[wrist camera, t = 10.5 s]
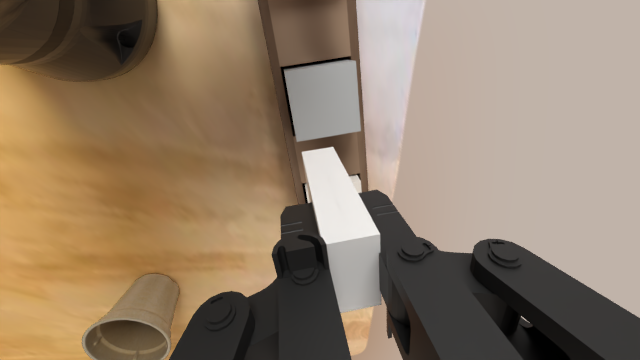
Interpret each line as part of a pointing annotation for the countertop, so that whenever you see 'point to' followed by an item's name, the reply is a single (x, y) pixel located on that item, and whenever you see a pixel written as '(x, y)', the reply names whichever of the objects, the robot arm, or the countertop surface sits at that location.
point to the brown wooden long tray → (309, 46)
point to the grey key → (323, 99)
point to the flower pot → (136, 323)
